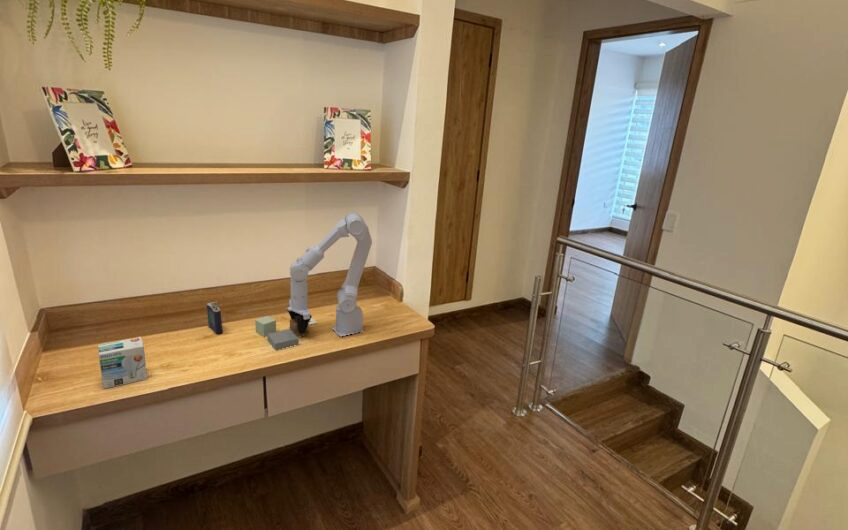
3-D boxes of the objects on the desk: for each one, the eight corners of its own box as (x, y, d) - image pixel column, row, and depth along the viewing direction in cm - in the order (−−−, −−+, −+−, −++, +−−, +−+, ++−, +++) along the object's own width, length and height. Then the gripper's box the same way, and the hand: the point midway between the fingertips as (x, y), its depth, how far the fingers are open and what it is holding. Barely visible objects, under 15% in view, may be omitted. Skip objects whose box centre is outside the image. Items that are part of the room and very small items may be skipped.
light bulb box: (103, 389, 124) (97, 355, 120) (102, 377, 129) (96, 344, 125) (148, 379, 130) (144, 346, 127) (145, 368, 135) (141, 336, 132)
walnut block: (303, 329, 167) (303, 317, 165) (308, 334, 163) (308, 322, 161) (290, 332, 164) (289, 319, 162) (295, 338, 160) (295, 325, 158)
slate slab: (289, 336, 161) (289, 328, 160) (298, 346, 155) (298, 338, 154) (267, 341, 157) (267, 333, 156) (275, 351, 151) (275, 343, 150)
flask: (207, 325, 163) (205, 298, 160) (215, 323, 165) (213, 296, 162) (216, 335, 157) (214, 307, 153) (225, 333, 159) (223, 305, 155)
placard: (309, 316, 177) (309, 315, 177) (317, 323, 172) (317, 322, 172) (292, 319, 173) (292, 318, 173) (299, 327, 168) (299, 325, 168)
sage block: (268, 328, 165) (267, 315, 164) (276, 332, 162) (275, 320, 161) (255, 332, 161) (255, 319, 160) (263, 337, 159) (263, 324, 157)
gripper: (280, 289, 162) (281, 324, 166) (295, 304, 151) (296, 340, 155) (299, 286, 166) (299, 320, 170) (315, 300, 155) (315, 336, 159)
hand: (299, 329), depth 163 cm, fingers open, 5 cm apart
